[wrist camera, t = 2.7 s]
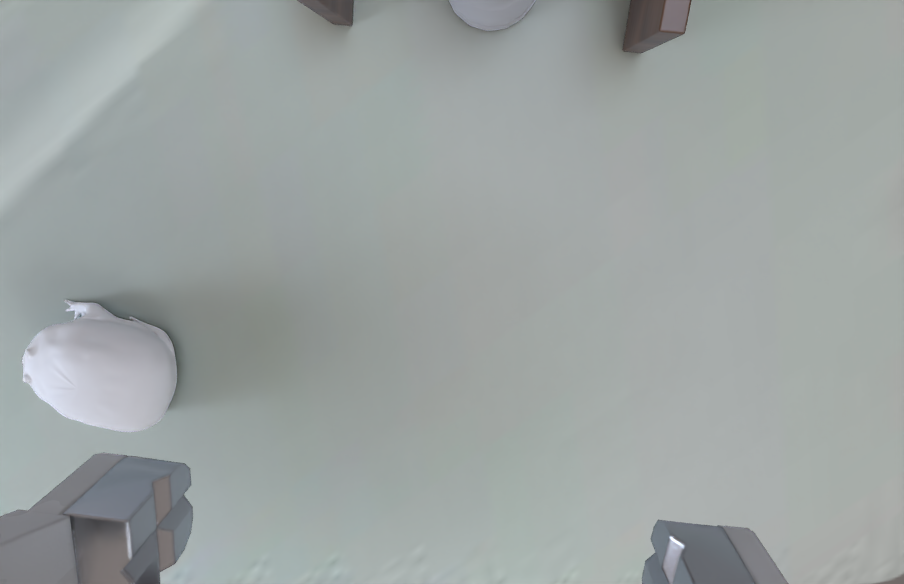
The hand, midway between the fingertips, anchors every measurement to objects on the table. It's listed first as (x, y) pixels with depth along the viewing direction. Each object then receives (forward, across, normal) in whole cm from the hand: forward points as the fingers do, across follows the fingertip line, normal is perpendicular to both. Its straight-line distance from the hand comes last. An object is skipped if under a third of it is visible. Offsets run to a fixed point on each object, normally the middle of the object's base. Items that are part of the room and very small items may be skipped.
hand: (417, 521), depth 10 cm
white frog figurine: (+22, +19, +9) cm, 30 cm away
